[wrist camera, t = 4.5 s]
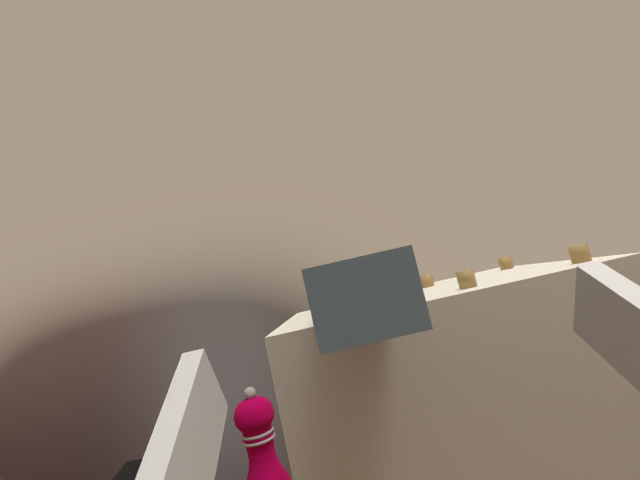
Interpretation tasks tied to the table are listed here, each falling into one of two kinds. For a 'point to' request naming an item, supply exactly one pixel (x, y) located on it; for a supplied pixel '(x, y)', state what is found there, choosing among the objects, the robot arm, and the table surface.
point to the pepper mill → (259, 437)
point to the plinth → (464, 388)
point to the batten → (366, 299)
